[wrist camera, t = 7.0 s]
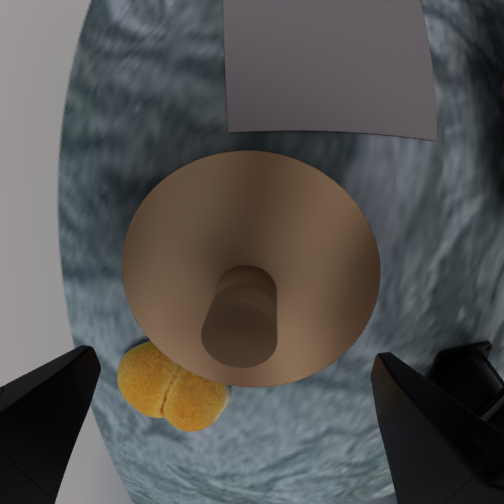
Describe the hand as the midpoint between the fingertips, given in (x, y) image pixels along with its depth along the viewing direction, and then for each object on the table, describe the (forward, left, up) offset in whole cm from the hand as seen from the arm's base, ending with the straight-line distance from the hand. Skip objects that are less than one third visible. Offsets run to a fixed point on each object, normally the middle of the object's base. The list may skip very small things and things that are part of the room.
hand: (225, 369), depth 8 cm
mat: (-5, -13, -10) cm, 17 cm away
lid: (0, 0, -6) cm, 6 cm away
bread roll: (+6, +11, -11) cm, 17 cm away
